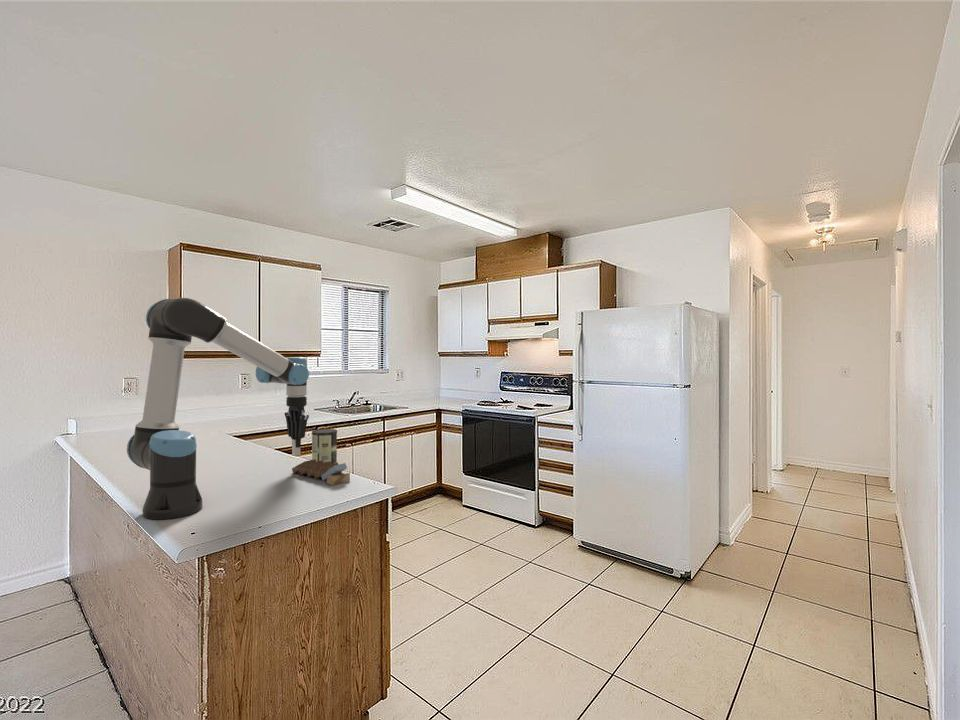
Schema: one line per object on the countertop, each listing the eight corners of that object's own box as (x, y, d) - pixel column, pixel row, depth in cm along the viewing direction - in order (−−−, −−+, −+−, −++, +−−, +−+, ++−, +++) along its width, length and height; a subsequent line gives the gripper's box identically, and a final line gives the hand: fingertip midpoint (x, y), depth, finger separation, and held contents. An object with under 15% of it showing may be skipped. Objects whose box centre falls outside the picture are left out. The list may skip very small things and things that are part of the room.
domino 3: (319, 474, 189) (332, 466, 184) (308, 477, 185) (321, 468, 180) (317, 469, 189) (330, 461, 185) (306, 472, 185) (319, 463, 181)
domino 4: (326, 476, 186) (339, 467, 182) (315, 479, 182) (328, 469, 178) (324, 471, 187) (337, 462, 183) (313, 474, 183) (326, 464, 178)
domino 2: (311, 472, 192) (324, 465, 187) (300, 475, 188) (313, 467, 183) (310, 467, 192) (323, 460, 187) (299, 470, 188) (311, 462, 183)
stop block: (332, 485, 175) (332, 477, 174) (326, 484, 176) (326, 475, 176) (349, 480, 181) (349, 472, 181) (344, 479, 183) (344, 471, 183)
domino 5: (333, 477, 184) (347, 467, 180) (322, 480, 180) (336, 470, 175) (332, 472, 185) (345, 463, 180) (321, 475, 180) (334, 465, 176)
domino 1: (304, 470, 194) (316, 464, 190) (293, 473, 190) (305, 466, 186) (302, 466, 195) (315, 459, 190) (291, 468, 191) (304, 461, 186)
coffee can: (328, 459, 214) (329, 427, 214) (341, 463, 207) (341, 430, 207) (306, 463, 207) (307, 430, 206) (319, 467, 199) (319, 433, 199)
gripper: (314, 396, 192) (314, 455, 193) (295, 394, 199) (294, 451, 200) (298, 398, 186) (297, 459, 186) (278, 395, 193) (278, 454, 194)
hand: (296, 455), depth 193 cm, fingers closed
